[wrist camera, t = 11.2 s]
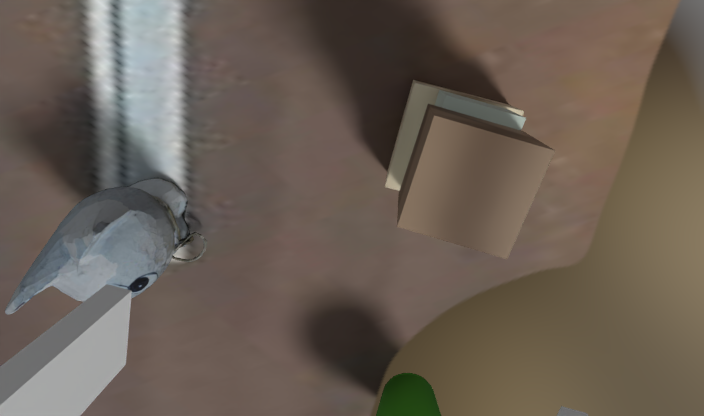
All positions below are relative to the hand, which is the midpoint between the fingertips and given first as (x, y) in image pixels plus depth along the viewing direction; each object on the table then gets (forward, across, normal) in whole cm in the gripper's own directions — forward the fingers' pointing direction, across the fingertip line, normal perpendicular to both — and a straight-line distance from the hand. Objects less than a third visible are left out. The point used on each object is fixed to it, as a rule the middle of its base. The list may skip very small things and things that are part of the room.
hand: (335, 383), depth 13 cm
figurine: (+27, -18, -10) cm, 34 cm away
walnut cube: (+17, +5, +4) cm, 18 cm away
